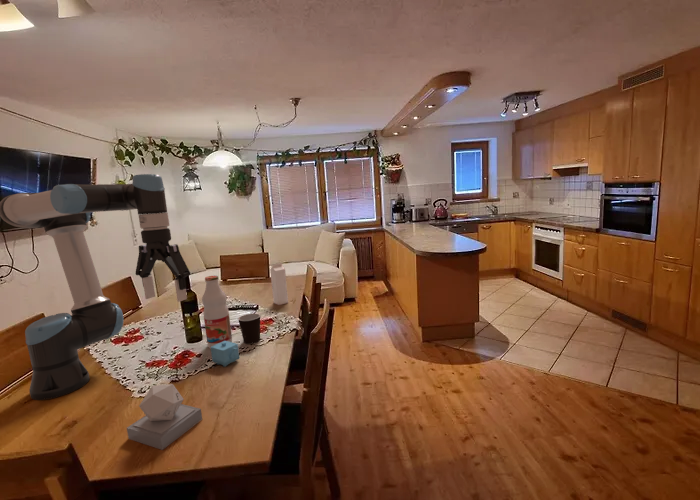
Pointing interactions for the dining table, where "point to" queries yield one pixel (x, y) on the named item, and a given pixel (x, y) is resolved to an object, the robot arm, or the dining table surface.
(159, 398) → the die
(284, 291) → the milk
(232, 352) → the blue spouted cube
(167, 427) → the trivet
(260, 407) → the dining table surface
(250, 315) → the black cup
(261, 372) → the dining table surface
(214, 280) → the fruit juice
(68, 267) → the robot arm
